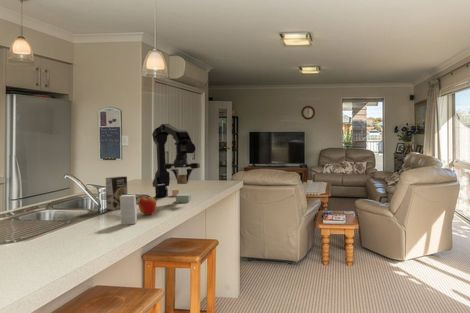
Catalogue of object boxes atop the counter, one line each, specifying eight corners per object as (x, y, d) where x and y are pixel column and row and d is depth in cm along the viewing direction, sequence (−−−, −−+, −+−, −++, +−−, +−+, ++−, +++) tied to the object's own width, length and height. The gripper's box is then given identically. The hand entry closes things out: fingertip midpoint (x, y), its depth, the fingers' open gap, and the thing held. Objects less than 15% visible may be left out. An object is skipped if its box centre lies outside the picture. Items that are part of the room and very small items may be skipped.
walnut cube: (177, 184, 246) (176, 174, 246) (179, 183, 251) (179, 174, 251) (186, 183, 245) (185, 174, 245) (188, 182, 250) (188, 173, 250)
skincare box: (137, 222, 194) (135, 194, 193) (135, 224, 190) (134, 195, 189) (122, 222, 194) (121, 195, 193) (120, 224, 190) (119, 196, 189)
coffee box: (114, 210, 227) (112, 178, 226) (106, 209, 231) (104, 177, 230) (128, 207, 234) (127, 176, 234) (120, 206, 238) (119, 175, 237)
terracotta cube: (172, 196, 270) (172, 190, 270) (172, 195, 274) (172, 189, 274) (179, 196, 270) (178, 189, 270) (179, 195, 274) (179, 188, 274)
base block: (176, 203, 245) (175, 195, 245) (178, 201, 252) (178, 194, 252) (188, 202, 245) (188, 195, 245) (190, 200, 252) (190, 193, 252)
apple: (157, 212, 215) (157, 191, 215) (155, 216, 207) (154, 194, 207) (140, 213, 215) (139, 192, 215) (137, 216, 207) (136, 194, 207)
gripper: (160, 154, 241) (161, 183, 242) (194, 153, 238) (195, 183, 239) (166, 153, 252) (168, 181, 253) (199, 152, 249) (200, 180, 250)
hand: (182, 181), depth 248 cm, fingers closed on walnut cube, 5 cm apart
